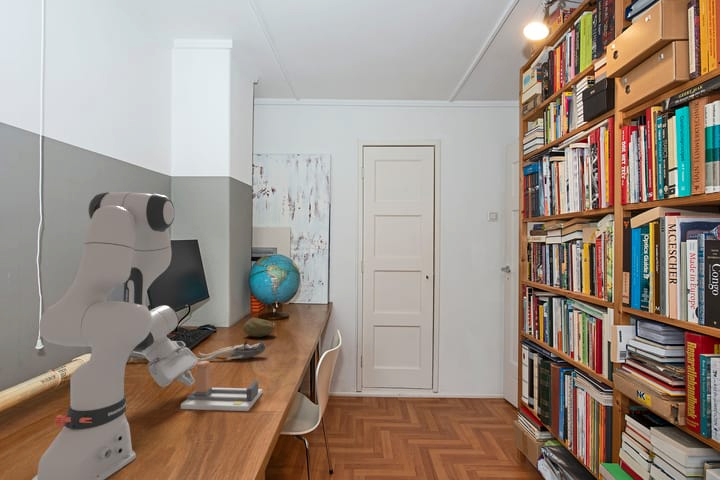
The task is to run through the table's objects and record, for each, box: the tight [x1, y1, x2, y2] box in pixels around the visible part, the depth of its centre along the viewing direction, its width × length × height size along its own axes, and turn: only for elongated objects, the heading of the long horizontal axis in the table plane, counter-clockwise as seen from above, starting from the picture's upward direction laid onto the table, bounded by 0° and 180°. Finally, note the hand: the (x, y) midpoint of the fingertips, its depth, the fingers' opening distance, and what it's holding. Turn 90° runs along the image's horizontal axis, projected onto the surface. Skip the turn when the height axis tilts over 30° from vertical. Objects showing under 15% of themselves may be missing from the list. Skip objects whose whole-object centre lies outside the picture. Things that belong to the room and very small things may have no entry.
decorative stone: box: [242, 317, 275, 338], centre depth 214 cm, size 17×11×10 cm, turn 83°
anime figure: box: [197, 340, 266, 362], centre depth 176 cm, size 10×7×30 cm
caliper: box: [126, 351, 148, 364], centre depth 171 cm, size 20×1×6 cm, turn 93°
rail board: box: [180, 380, 263, 412], centre depth 131 cm, size 14×22×6 cm, turn 86°
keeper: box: [194, 360, 213, 396], centre depth 131 cm, size 4×4×11 cm
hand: (191, 384), depth 132 cm, fingers closed
